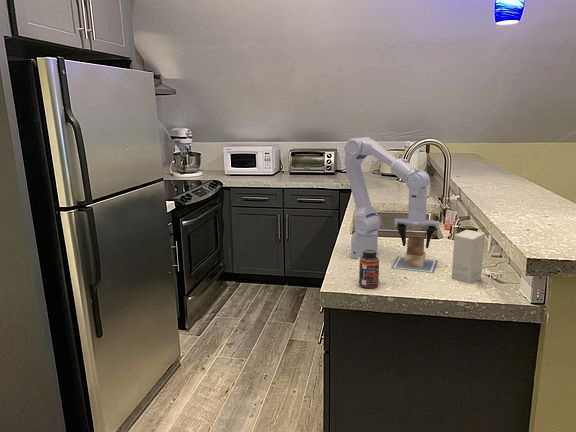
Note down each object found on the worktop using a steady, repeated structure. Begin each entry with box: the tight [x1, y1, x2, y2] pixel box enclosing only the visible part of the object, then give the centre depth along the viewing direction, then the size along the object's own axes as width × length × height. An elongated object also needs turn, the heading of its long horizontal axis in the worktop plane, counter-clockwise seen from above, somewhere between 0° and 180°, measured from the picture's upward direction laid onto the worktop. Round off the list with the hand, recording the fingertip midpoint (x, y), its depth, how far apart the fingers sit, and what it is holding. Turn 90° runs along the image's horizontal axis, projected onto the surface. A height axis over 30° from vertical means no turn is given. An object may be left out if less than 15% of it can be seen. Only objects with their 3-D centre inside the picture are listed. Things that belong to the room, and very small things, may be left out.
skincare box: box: [451, 229, 486, 284], centre depth 140 cm, size 8×7×16 cm
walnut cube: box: [406, 236, 425, 256], centre depth 153 cm, size 5×5×5 cm
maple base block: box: [404, 251, 426, 268], centre depth 154 cm, size 6×6×4 cm
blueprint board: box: [390, 255, 439, 274], centre depth 155 cm, size 14×14×1 cm
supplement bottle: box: [358, 249, 380, 289], centre depth 138 cm, size 6×6×11 cm
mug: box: [427, 182, 431, 198], centre depth 280 cm, size 12×10×9 cm
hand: (415, 246), depth 153 cm, fingers open, 7 cm apart
